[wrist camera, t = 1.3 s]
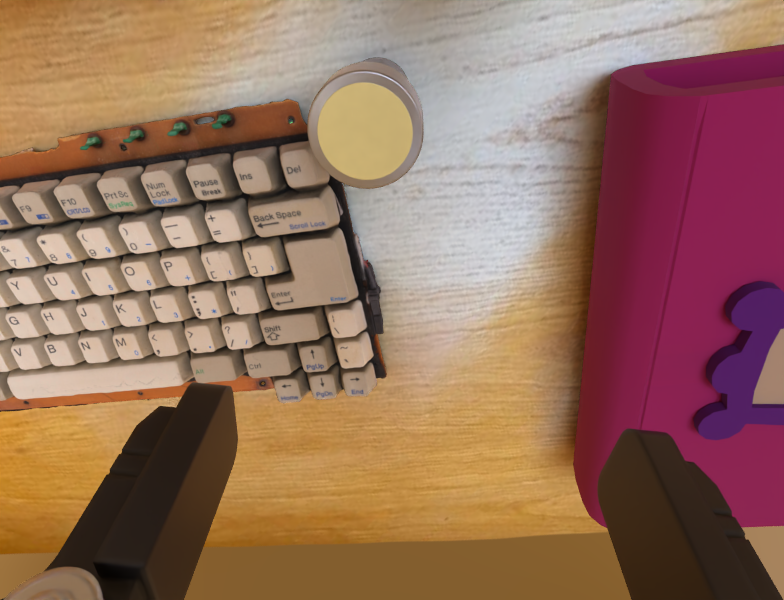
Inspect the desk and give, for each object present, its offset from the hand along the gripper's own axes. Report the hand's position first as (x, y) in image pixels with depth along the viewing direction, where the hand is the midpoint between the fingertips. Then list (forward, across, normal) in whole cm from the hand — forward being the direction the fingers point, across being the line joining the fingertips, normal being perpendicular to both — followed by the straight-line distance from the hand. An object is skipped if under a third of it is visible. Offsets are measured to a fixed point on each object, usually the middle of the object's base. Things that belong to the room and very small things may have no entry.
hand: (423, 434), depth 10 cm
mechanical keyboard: (+20, +20, +12) cm, 30 cm away
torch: (+19, +2, -3) cm, 20 cm away
